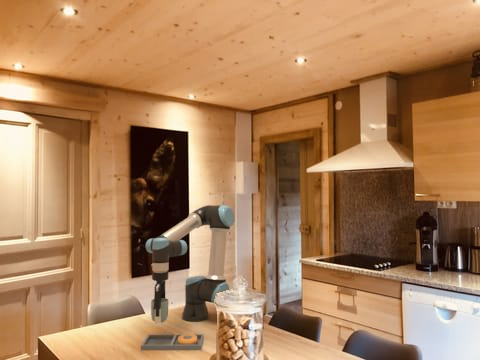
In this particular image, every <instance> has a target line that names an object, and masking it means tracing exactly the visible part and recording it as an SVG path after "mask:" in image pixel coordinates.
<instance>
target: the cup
mask: <svg viewBox="0 0 480 360" xmlns="http://www.w3.org/2000/svg"><path fill="white" fill-rule="evenodd" d="M153 308H154V299H153V298H152V299H151V301H150V316H151V320H152V322H153V323H155V309H153ZM160 309H161V323H160V324H162V323H164V322H166V321H167V319H168V316H169V298H166V297H165V298H161V308H160Z"/></svg>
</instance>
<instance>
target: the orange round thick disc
mask: <svg viewBox="0 0 480 360" xmlns="http://www.w3.org/2000/svg"><path fill="white" fill-rule="evenodd" d="M183 334H184V333H183ZM178 345H197V336H196V335H193V334H192V333H185V334H184V335H181V336H179V337H178Z"/></svg>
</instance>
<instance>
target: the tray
mask: <svg viewBox="0 0 480 360" xmlns="http://www.w3.org/2000/svg"><path fill="white" fill-rule="evenodd" d="M181 335H184V333H183V334H182V333H181V334H179V333H178V334H176V333H175V334H171V333H170V334H168V333H165V334H163V333H161V334H160V333H158V334H157V333H154V334H153V333H152V334H151V333H149V334H147V335H146V337H145V338H144V341H143V342H142V343H141V345H140V351H202V347H203V343H204V337H205V336H204V334H201V333H200V334H199V333H198V334H197V333H196V334H195V333H194V334H193V335H196V336H197V345H178V337H179V336H181Z"/></svg>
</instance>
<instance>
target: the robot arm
mask: <svg viewBox="0 0 480 360" xmlns="http://www.w3.org/2000/svg"><path fill="white" fill-rule="evenodd" d="M235 220H236V216H235V212H234V210H233V208H232V207H230V206H229V205H224V204H223V205H222V204H221V205H211V204H208V205H203V206H202V207H199V208H198V209H197V208H196V209H195V210H194V211H192V212H190V213H189V214H188V216H187V218H185V219H183V220H182V221H179V223H177V224H176V225H175V226H173V227H171V228H169V229H168V230H167V231H165V232H163V233H162V234H161V235H159V236H158V237H155V238H154V237H153V238H149V239H147V241H146V242H145V249H146V252H148V253H150V254H152V255H151V256H152V260H151V261H152V264H151V263H150V264H151V269H152V273H151V274H152V275H151V279H152V280H153V281H155V282H156V283H155V286H154V297H153V298H154V308H153V309H155V322H154V324H162V323H161V309H160V308H161V298H166V281H168V280H169V267H170V266H169V264H170V263H169V261H170V260H169V259H170V258H173V257H179V256H183V255H185V254H186V253H187V251H188V245H187V242H186V241H185V240H183V239H182V238H184V237H185V236H187V235H188V234H189V233H191V232H192V231H194V230H195V229H199V228H201V227H203V226H208V227H209V230H210V231H211V235H210V237H211V238H210V248H209V249H210V251H209V261H208V272H207V273H208V274H207V275H206V276H205V275H197V276H190V277H187V278H186V279H185V285H184V287H185V288H184V289H185V293H184V295H185V302H184V307H183V310H182V311H183V312H182V314H181V315H182V319H183V320H185V321H188V322H201V321H202V322H203V321H205V320H207V319H209V315H210V314H209V310H208V306H207V303H212V304H214V299H215V294H216V293H219V292H223V291H226V290H229V291H230V289H231V288H230V286H229V283H227V278H226V277H225V274H224V272H225V262H226V249H227V248H226V246H227V237H228V232H230V230H231V227H232V226H233V225H234V223H235ZM206 302H207V303H206Z"/></svg>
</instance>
